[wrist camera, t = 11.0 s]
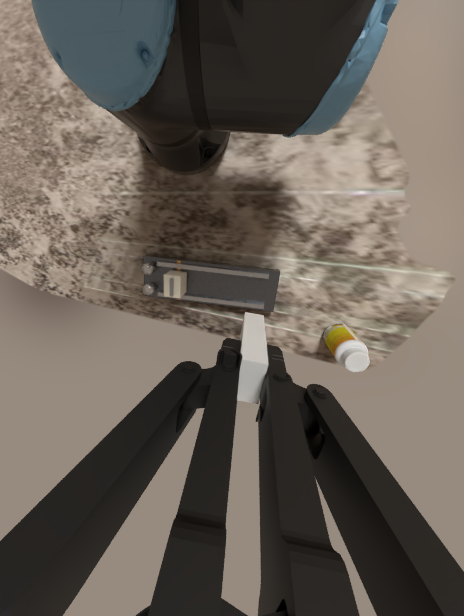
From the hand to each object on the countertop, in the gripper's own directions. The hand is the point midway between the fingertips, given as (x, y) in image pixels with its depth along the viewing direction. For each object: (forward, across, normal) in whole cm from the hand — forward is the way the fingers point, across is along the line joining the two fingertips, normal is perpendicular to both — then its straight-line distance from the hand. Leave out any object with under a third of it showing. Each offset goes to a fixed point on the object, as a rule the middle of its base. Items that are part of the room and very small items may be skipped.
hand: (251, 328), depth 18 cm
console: (+27, -8, -5) cm, 29 cm away
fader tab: (+25, -14, -5) cm, 29 cm away
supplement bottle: (+28, +20, -11) cm, 36 cm away
